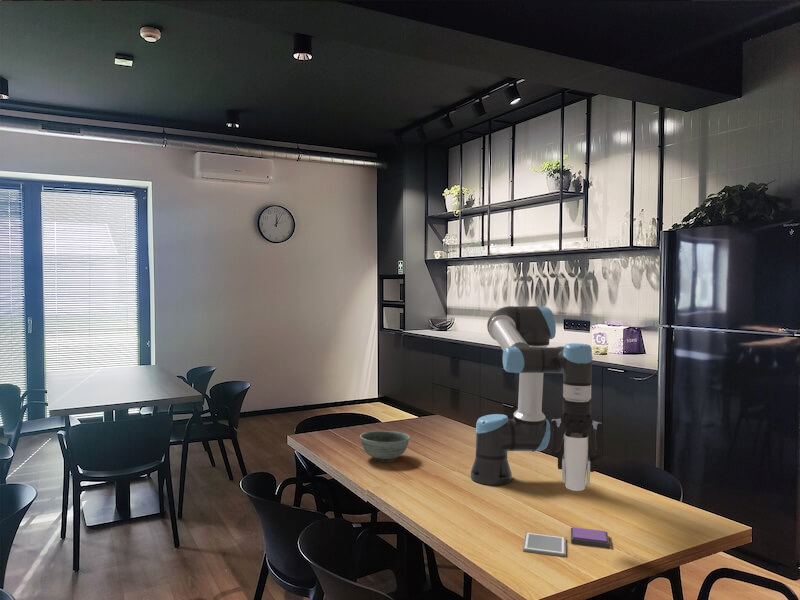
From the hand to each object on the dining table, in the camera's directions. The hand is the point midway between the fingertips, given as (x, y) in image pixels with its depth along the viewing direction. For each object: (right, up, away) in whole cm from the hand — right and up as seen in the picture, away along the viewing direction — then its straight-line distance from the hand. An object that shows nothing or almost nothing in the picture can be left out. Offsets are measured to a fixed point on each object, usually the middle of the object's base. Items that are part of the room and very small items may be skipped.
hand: (575, 481), depth 160 cm
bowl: (-55, -15, +76) cm, 95 cm away
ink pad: (+4, -17, +2) cm, 17 cm away
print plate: (-9, -17, -2) cm, 19 cm away
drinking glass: (0, -2, 0) cm, 2 cm away
